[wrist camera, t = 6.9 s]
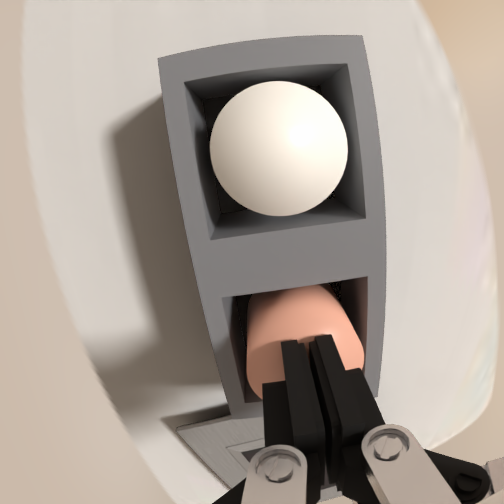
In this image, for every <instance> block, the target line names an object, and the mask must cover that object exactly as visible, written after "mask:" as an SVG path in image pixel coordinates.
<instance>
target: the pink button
mask: <svg viewBox="0 0 504 504" xmlns="http://www.w3.org/2000/svg"><path fill="white" fill-rule="evenodd" d="M327 334H331V335H332V337H333V339H334V342H335V344H336V347H337V349H338V352H339V354H340V357H341V360H342V362H343V365H344V367H345V370H349V369H354V368H361V370H362V368H363V364H364V351H363V347H362V344H361V342H360V340H359V338H358V336H357V334H356V332H355V330H354V328H353V326H352V324H351V323H350V321H349V319H348V317H347V315H346V313H345V311H344V309H343V307H342V306H341V304H340V302H339V300H338V298H337V296H336V294H335V293H334V291H333V289H332V288H331V286H330V285H329V284H328V283H322V284H316V285H309V286H302V287H296V288H289V289H282V290H275V291H268V292H261V293H253V294H252V296H251V298H250V301H249V304H248V311H247V378H248V381H249V384H250V386H251V388H252V390H253V391H254V392H255V393H256V394H257V395H258V396H259V397H260V398H261V399H262V400H263V397H262V383H269V382H277V381H284V380H285V374H284V366H283V358H282V350H281V342H283V341H290V340H296V339H297V342H298V344H299V343H304V345H305V348H306V352H307V356H308V360H309V364H310V355H309V342H312V341H314V337H316V336H322V335H327Z"/></svg>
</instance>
